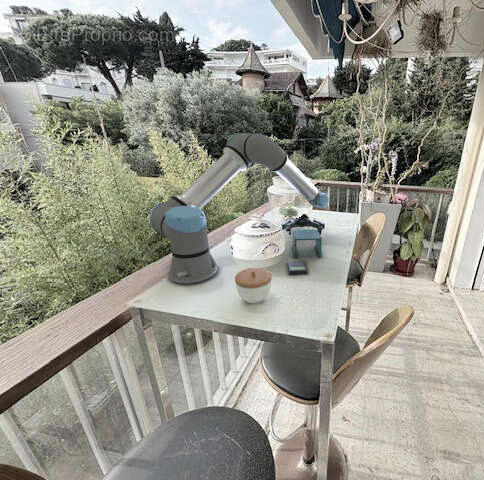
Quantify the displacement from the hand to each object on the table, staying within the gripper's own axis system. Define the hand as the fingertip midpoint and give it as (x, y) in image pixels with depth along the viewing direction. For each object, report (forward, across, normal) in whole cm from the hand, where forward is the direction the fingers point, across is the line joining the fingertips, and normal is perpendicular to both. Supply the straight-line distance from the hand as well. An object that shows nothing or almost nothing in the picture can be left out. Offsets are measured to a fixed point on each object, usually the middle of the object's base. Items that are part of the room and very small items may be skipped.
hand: (305, 232), depth 118 cm
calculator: (+20, +5, -8) cm, 22 cm away
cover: (+5, 0, -8) cm, 9 cm away
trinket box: (+38, +20, -8) cm, 44 cm away
